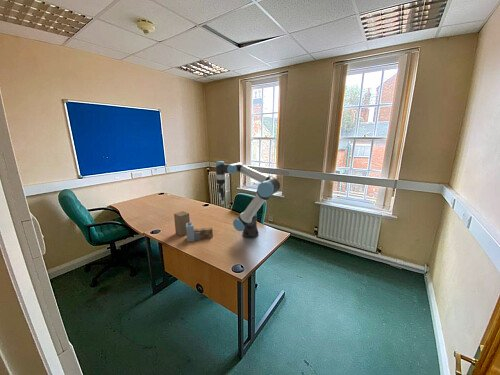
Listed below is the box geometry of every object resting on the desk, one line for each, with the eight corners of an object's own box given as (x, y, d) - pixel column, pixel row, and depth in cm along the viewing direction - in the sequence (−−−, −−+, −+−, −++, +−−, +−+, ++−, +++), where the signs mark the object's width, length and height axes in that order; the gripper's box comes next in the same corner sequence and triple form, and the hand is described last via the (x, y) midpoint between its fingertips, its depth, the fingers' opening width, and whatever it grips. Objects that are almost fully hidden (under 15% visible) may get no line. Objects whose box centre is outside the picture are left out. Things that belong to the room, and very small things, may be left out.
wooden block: (184, 229, 204) (183, 210, 200) (190, 232, 198) (189, 213, 193) (175, 233, 197) (173, 213, 192) (181, 236, 191) (179, 216, 186)
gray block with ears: (199, 235, 192) (198, 219, 188) (200, 239, 185) (199, 222, 181) (187, 237, 189) (186, 220, 185) (187, 241, 182) (185, 224, 178)
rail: (212, 235, 193) (212, 227, 192) (212, 237, 189) (212, 229, 188) (194, 237, 189) (194, 229, 188) (194, 239, 186) (194, 231, 184)
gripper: (214, 176, 194) (215, 198, 199) (218, 182, 170) (219, 206, 176) (222, 176, 196) (223, 197, 201) (227, 181, 172) (227, 205, 178)
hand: (221, 201), depth 188 cm, fingers open, 13 cm apart
